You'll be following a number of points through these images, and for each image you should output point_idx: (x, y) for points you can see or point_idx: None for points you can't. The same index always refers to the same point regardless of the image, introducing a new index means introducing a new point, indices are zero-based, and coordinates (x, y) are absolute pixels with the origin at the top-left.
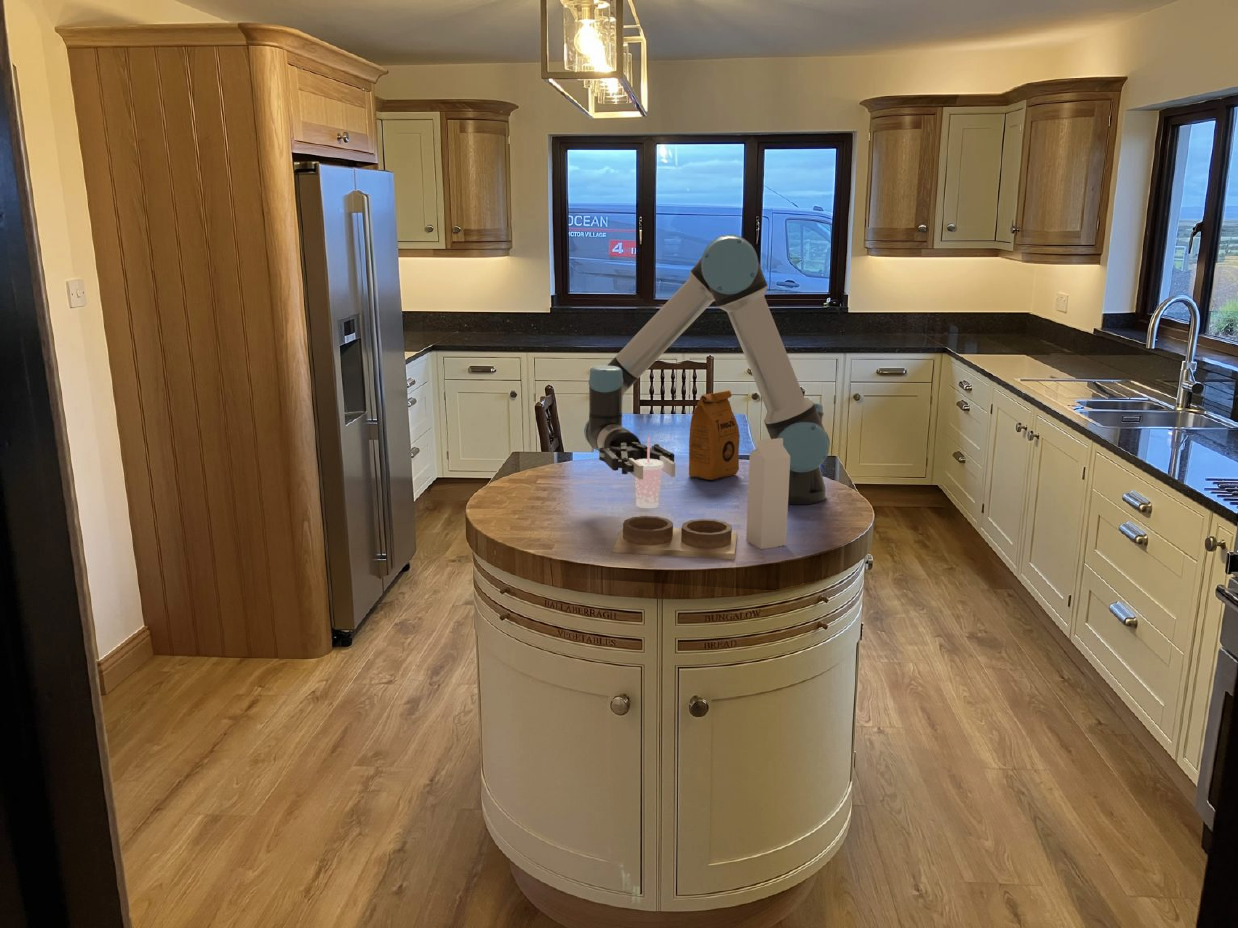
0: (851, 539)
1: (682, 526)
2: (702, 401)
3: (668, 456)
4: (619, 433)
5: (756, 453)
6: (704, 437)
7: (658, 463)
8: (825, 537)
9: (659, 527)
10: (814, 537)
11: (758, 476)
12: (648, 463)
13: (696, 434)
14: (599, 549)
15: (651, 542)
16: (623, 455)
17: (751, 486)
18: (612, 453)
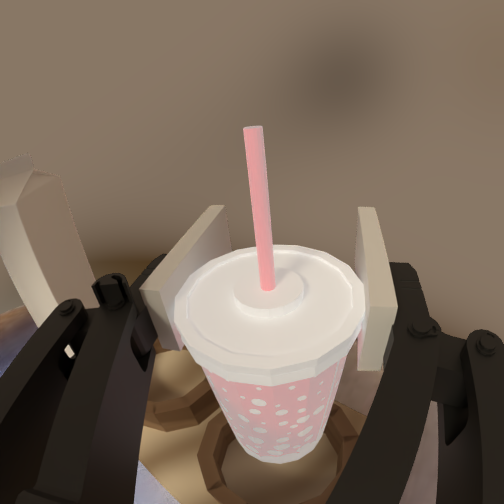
0: (24, 306)
1: (209, 387)
2: None
3: (83, 323)
4: None
5: (33, 186)
6: None
7: (222, 276)
8: (28, 323)
9: (222, 477)
10: (33, 330)
11: (58, 227)
12: (285, 272)
13: None
14: (419, 465)
15: None
16: (409, 413)
17: (53, 269)
18: (491, 496)
